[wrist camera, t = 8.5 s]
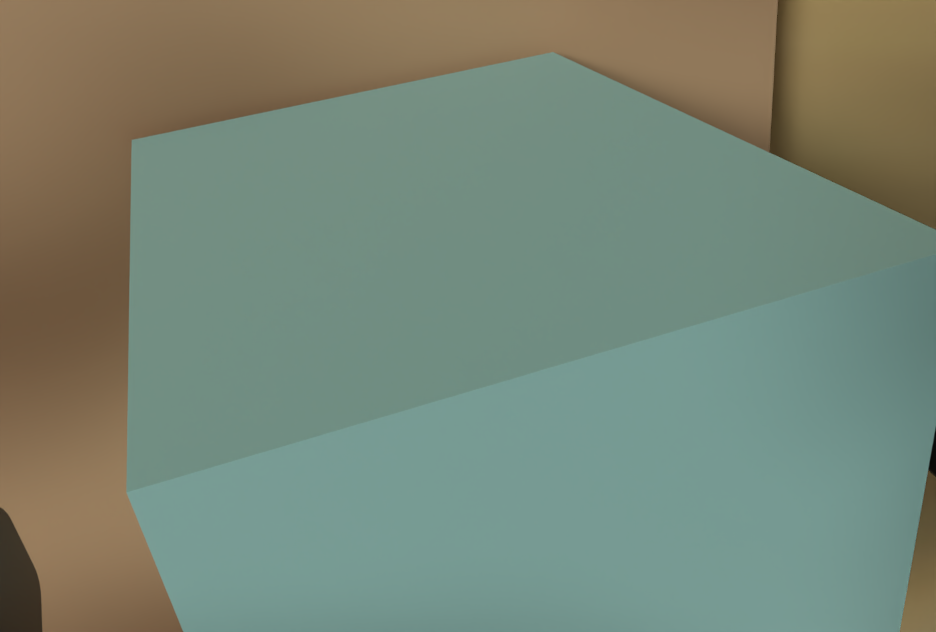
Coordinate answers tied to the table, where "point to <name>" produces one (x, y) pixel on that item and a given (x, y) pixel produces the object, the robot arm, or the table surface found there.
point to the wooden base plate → (213, 100)
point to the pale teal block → (521, 369)
